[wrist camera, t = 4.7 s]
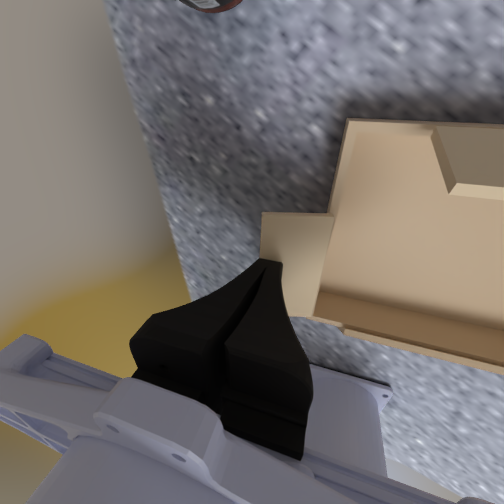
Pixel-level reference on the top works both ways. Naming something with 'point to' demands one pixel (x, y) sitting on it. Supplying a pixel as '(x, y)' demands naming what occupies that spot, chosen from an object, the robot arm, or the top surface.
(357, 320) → the carton
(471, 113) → the top surface
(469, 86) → the top surface
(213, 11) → the supplement bottle
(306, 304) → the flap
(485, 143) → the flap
